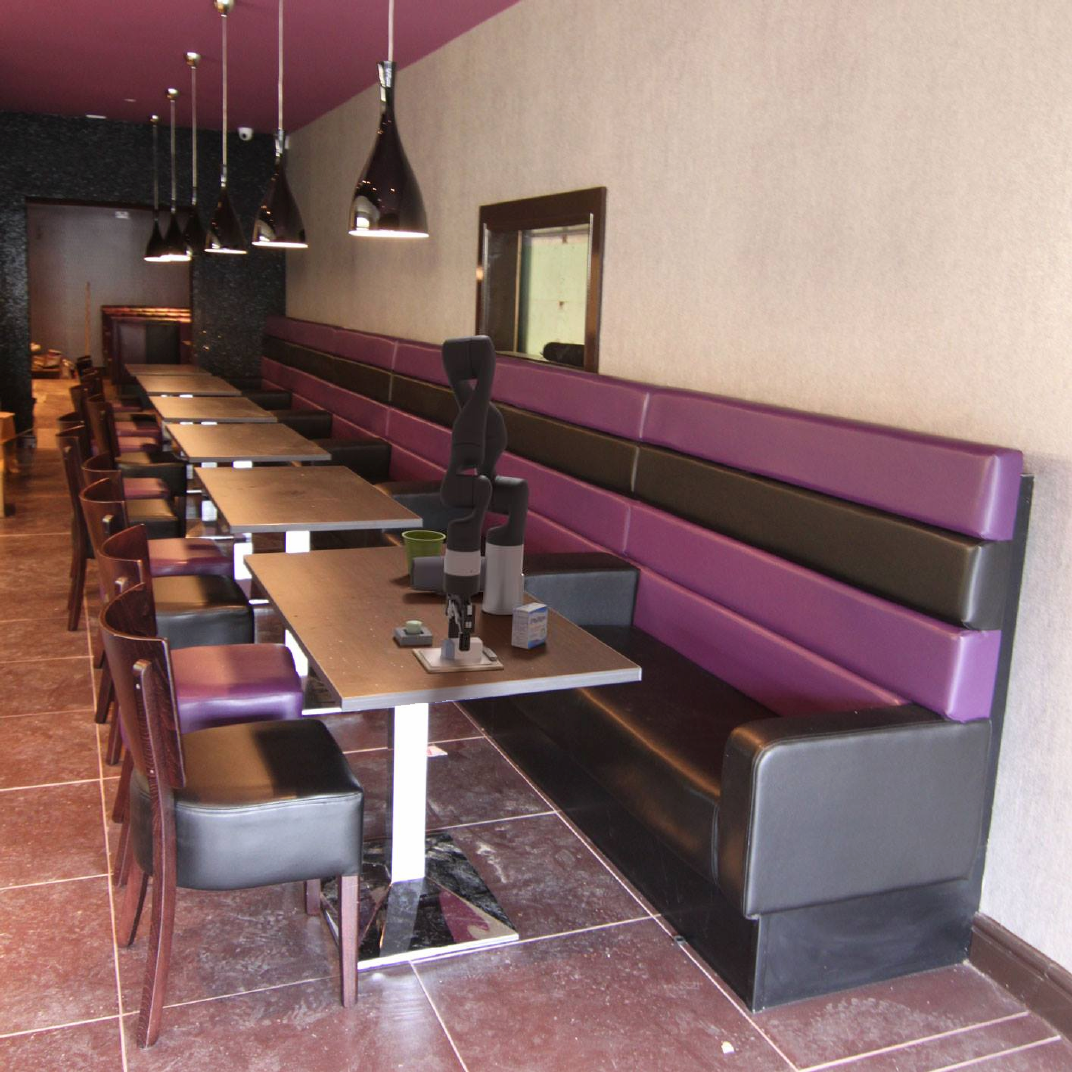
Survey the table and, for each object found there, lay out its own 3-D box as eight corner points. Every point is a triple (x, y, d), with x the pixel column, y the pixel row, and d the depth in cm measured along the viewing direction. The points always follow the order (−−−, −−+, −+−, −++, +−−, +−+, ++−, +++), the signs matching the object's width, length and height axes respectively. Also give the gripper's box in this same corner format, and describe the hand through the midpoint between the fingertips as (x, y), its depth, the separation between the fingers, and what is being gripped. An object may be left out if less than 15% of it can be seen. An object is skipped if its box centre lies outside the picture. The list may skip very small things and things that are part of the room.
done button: (419, 631, 249) (419, 620, 249) (422, 636, 246) (423, 624, 246) (404, 632, 248) (404, 621, 248) (407, 636, 245) (408, 625, 245)
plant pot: (394, 577, 302) (395, 536, 299) (408, 568, 313) (410, 528, 311) (436, 582, 299) (438, 541, 297) (449, 572, 311) (451, 533, 308)
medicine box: (527, 650, 246) (530, 612, 244) (510, 645, 248) (512, 608, 246) (546, 642, 253) (548, 605, 251) (529, 638, 255) (531, 601, 253)
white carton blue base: (477, 653, 239) (477, 637, 238) (481, 658, 236) (482, 642, 235) (440, 654, 236) (441, 638, 235) (445, 659, 233) (445, 643, 232)
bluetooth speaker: (493, 588, 297) (495, 552, 295) (502, 598, 288) (504, 560, 286) (408, 589, 290) (410, 552, 288) (414, 599, 282) (416, 560, 280)
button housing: (424, 635, 252) (425, 626, 251) (432, 644, 245) (432, 635, 245) (394, 636, 250) (394, 627, 249) (401, 645, 243) (401, 636, 243)
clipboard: (484, 648, 245) (484, 642, 245) (503, 669, 232) (503, 662, 232) (412, 651, 239) (412, 645, 239) (428, 672, 227) (428, 666, 226)
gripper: (489, 577, 226) (485, 654, 230) (470, 561, 240) (466, 634, 243) (453, 578, 224) (450, 656, 227) (436, 562, 237) (432, 635, 240)
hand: (458, 644), depth 235 cm, fingers open, 8 cm apart
